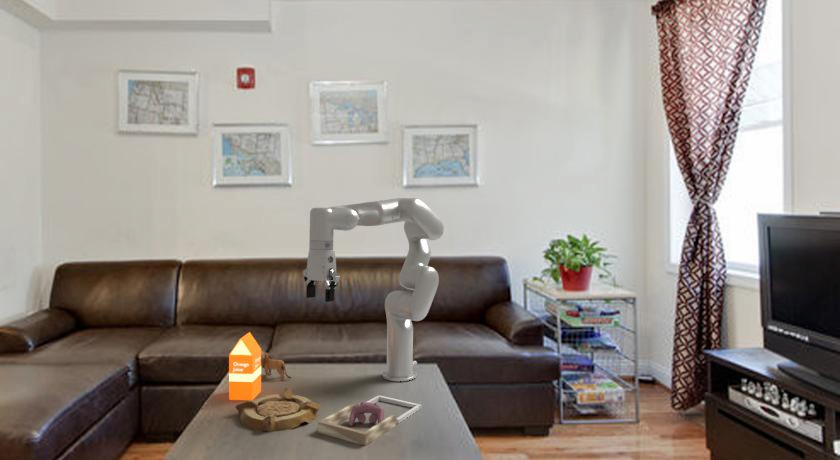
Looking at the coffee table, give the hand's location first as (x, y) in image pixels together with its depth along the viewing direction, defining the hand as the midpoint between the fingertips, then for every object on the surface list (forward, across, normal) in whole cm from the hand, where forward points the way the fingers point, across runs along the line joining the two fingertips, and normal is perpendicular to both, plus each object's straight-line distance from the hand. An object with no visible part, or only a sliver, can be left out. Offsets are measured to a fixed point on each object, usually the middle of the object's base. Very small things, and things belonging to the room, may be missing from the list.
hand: (320, 299), depth 175 cm
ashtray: (+33, -2, +16) cm, 37 cm away
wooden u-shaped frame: (+33, -27, +7) cm, 43 cm away
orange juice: (+33, +20, +14) cm, 41 cm away
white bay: (+32, -23, -9) cm, 41 cm away
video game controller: (+33, -26, +2) cm, 42 cm away
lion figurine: (+33, +30, -2) cm, 44 cm away
